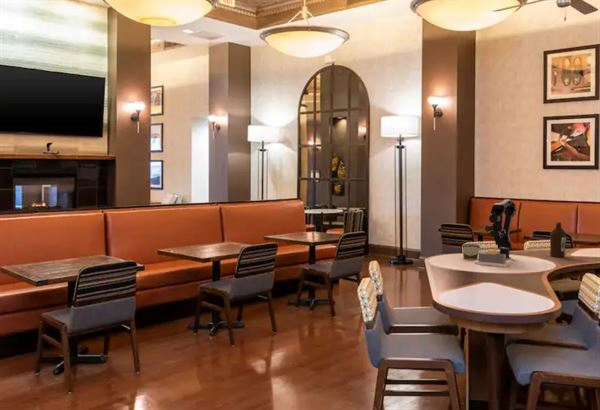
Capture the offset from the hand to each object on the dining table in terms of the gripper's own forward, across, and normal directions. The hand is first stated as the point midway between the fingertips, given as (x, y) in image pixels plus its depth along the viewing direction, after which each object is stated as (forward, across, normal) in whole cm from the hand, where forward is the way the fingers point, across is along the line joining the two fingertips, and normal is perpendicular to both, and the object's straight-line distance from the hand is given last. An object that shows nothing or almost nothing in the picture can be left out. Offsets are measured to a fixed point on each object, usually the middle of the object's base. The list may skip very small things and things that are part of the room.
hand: (497, 244), depth 384 cm
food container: (+11, +1, -18) cm, 22 cm away
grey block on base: (+11, +13, +1) cm, 17 cm away
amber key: (+5, +17, +1) cm, 18 cm away
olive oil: (+11, -47, +31) cm, 58 cm away
